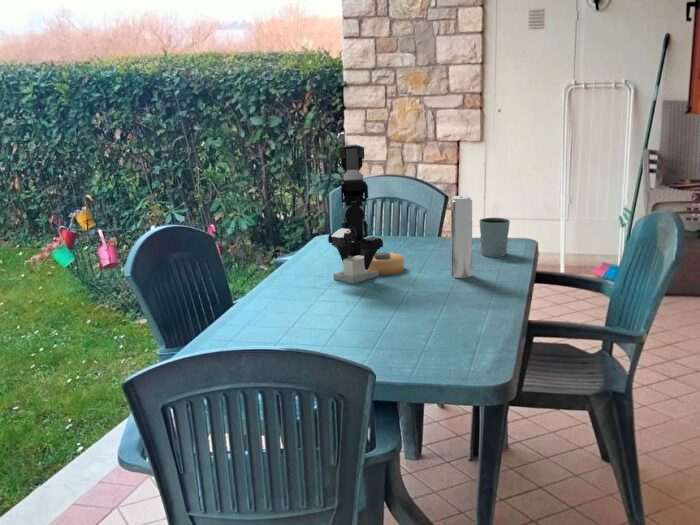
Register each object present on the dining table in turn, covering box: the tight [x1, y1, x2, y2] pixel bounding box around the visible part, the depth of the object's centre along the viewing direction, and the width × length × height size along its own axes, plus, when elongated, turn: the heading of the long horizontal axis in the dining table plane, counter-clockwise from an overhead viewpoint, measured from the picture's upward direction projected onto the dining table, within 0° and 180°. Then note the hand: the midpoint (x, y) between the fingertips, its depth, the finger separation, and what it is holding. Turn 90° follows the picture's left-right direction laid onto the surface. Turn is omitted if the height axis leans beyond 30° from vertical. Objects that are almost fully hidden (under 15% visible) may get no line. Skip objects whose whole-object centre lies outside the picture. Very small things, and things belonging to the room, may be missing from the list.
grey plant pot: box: [479, 217, 511, 258], centre depth 277 cm, size 10×10×12 cm
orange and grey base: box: [333, 251, 405, 284], centre depth 258 cm, size 14×25×5 cm, turn 136°
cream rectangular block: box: [342, 255, 368, 277], centre depth 253 cm, size 4×7×6 cm, turn 136°
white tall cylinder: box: [450, 195, 473, 279], centre depth 249 cm, size 6×6×25 cm
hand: (355, 267), depth 253 cm, fingers open, 9 cm apart
